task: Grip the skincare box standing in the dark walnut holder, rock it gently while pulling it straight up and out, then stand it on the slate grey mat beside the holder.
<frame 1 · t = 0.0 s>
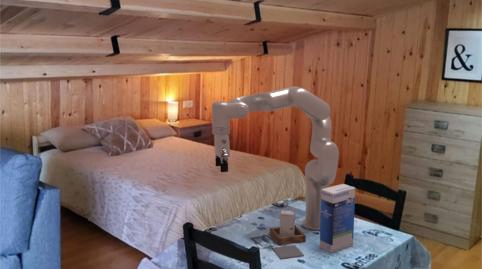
hand: (221, 168, 211), 31 cm above the table, tool pointing down, fingers open, 9 cm apart
skincare box: (287, 238, 214), resting in holder
holder: (287, 238, 214), on the table
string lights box: (336, 246, 205), on the table
mat: (287, 252, 200), on the table
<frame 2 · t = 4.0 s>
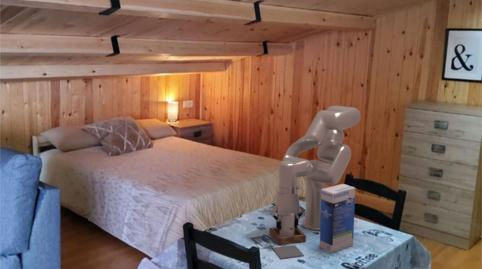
hand: (287, 227, 213), 5 cm above the table, tool pointing down, fingers closed on skincare box, 7 cm apart
skincare box: (287, 238, 214), resting in holder, touching gripper
everything else where it was.
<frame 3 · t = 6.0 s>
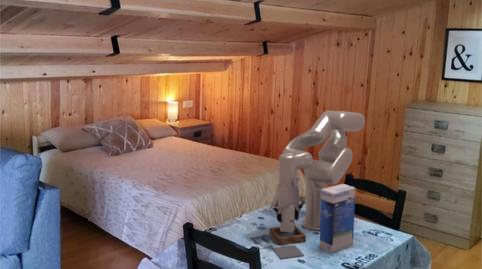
hand: (287, 220, 213), 8 cm above the table, tool pointing down, fingers closed on skincare box, 7 cm apart
skincare box: (287, 230, 214), point 3 cm above the table, touching gripper
everything else where it was.
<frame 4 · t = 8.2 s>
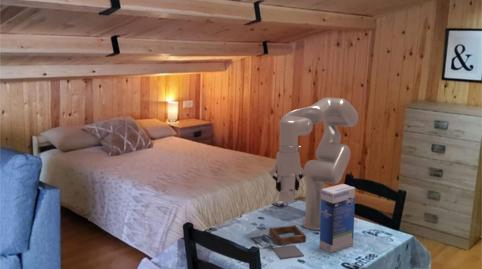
hand: (287, 189, 204), 24 cm above the table, tool pointing down, fingers closed on skincare box, 7 cm apart
skincare box: (287, 201, 205), point 19 cm above the table, touching gripper
everything else where it was.
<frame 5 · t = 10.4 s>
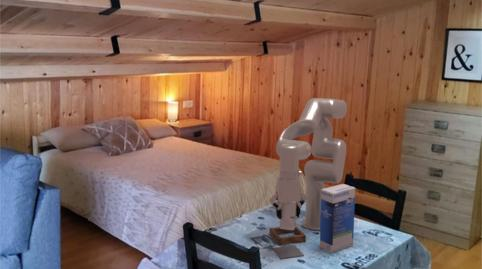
hand: (288, 216, 197), 16 cm above the table, tool pointing down, fingers closed on skincare box, 7 cm apart
skincare box: (288, 228, 197), point 11 cm above the table, touching gripper
everything else where it was.
when the fingers open (7 cm above the table, at t = 12.5 s): skincare box drops 2 cm, resting on mat.
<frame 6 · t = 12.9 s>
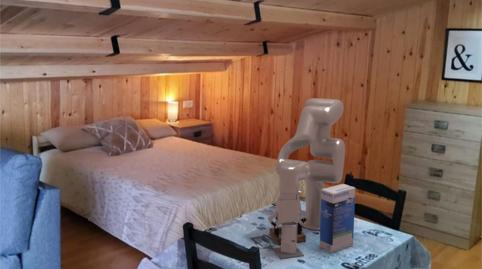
hand: (288, 234, 198), 8 cm above the table, tool pointing down, fingers open, 9 cm apart
skincare box: (289, 251, 200), resting on mat
everything else where it was.
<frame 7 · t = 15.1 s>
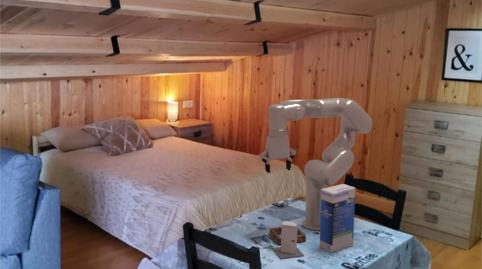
hand: (278, 171, 213), 30 cm above the table, tool pointing down, fingers open, 9 cm apart
nothing on the table moved.
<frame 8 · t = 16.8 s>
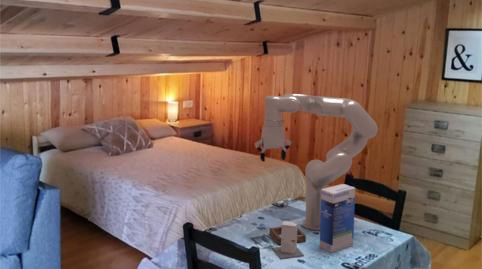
hand: (273, 160, 221), 32 cm above the table, tool pointing down, fingers open, 9 cm apart
nothing on the table moved.
at the end: skincare box inside the target area on the mat (0.6 cm from its centre), point 0.4 cm above the mat's base; skincare box tilted 0°; skincare box touching mat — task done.
